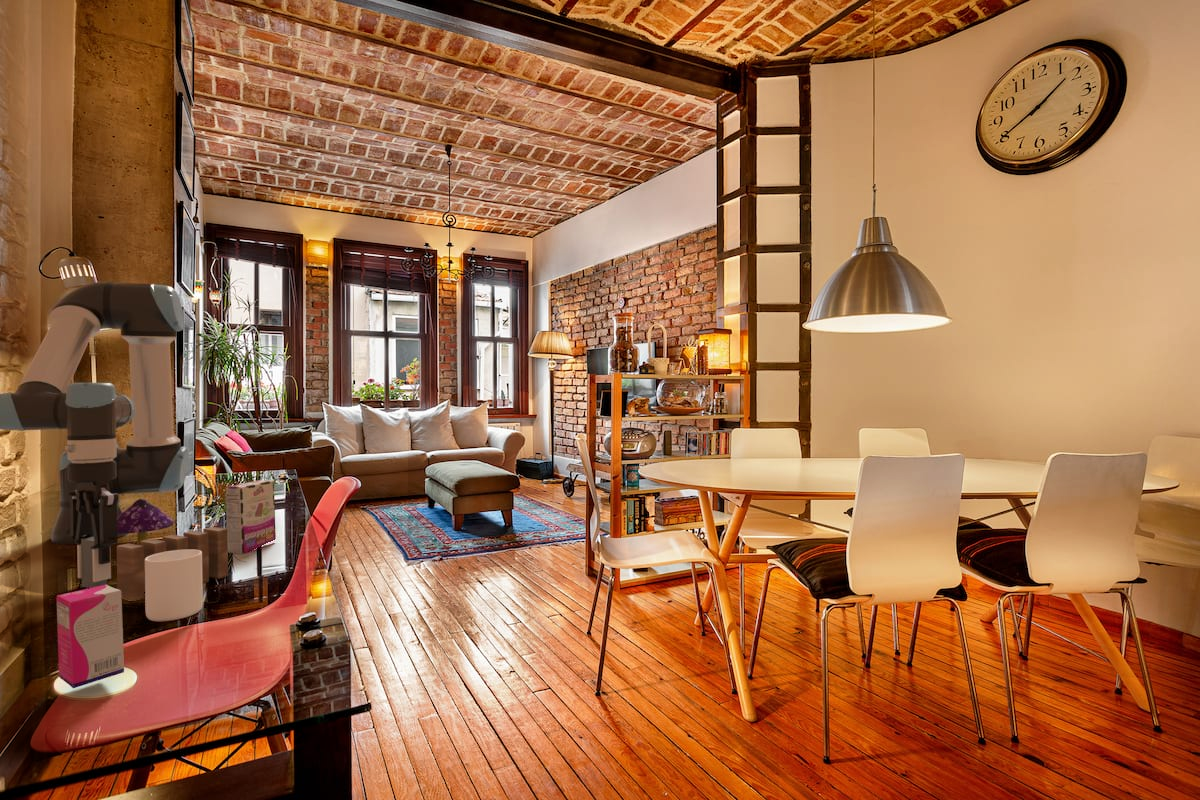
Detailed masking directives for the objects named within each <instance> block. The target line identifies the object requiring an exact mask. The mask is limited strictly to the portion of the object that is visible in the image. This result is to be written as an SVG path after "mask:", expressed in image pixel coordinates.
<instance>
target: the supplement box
mask: <svg viewBox="0 0 1200 800" xmlns="http://www.w3.org/2000/svg"><path fill="white" fill-rule="evenodd" d="M122 603H123V600H122V599H121V590H118V589H117V588H115V587H112V586H110V585H108V584H107V585H102V586H98V587H93V588H89V589H88V588H85V589H80V590H76V591H71V592H67V593H63V594H57V595H56V621H57V622H56V624H57V625H56V626H57V630H56V631H57V648H58V649H57V650H58V651H57V655H58V677H59V678H60V679H61V680H62V681H63V682H65V683H66V684H68V686H69V687H71V688H72V689H76V688H80V687H82V686H85V685H88V684H89V685H90V684H92V683H94V682H97V681H101V680H103V679H107V678H111V677H113V676H117V675H120V674H123V673H124V672H125V662H124V661H125V660H124V655H125V654H124V653H125V652H124V651H125V650H124V628H123V605H122Z"/></svg>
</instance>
